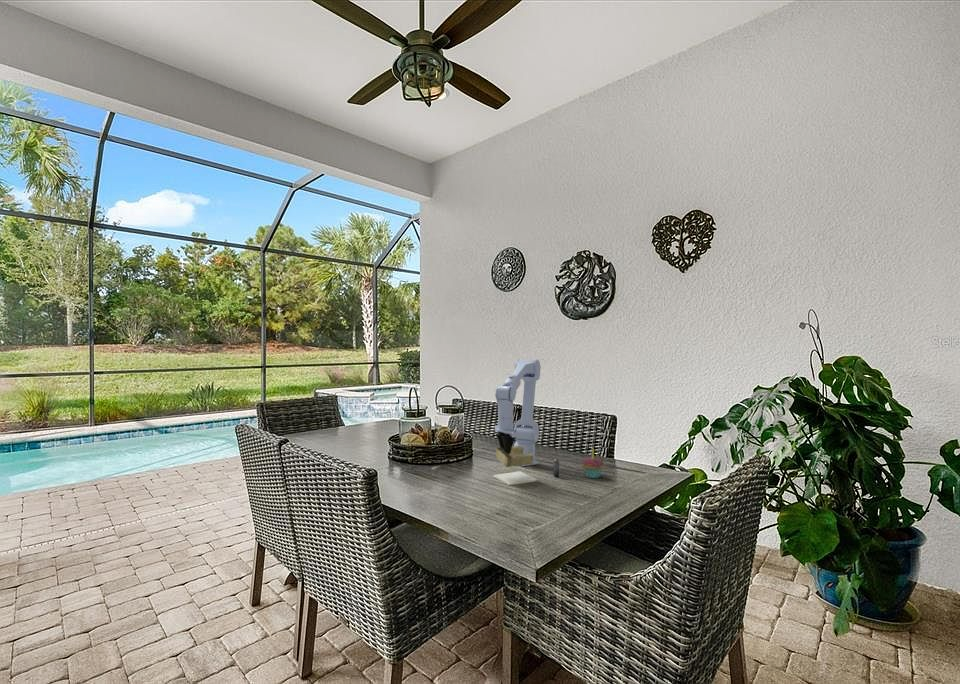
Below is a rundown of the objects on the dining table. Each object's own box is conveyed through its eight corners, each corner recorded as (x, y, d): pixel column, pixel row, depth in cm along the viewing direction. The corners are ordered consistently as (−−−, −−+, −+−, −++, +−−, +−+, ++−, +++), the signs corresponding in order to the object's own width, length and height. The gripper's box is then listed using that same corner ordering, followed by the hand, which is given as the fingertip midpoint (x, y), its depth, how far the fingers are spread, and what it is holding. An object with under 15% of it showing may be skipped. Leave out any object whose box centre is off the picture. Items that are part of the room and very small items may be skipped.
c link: (495, 456, 175) (496, 448, 174) (520, 454, 180) (521, 445, 179) (506, 467, 167) (507, 458, 166) (532, 463, 172) (533, 455, 171)
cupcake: (605, 480, 171) (605, 447, 171) (581, 479, 172) (581, 447, 172) (602, 473, 180) (602, 442, 180) (580, 472, 181) (580, 442, 181)
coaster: (493, 476, 175) (493, 475, 175) (519, 472, 181) (519, 471, 181) (508, 485, 165) (508, 484, 165) (536, 481, 170) (536, 479, 170)
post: (552, 475, 176) (552, 458, 176) (557, 475, 177) (557, 458, 177) (555, 477, 174) (555, 460, 174) (560, 476, 175) (560, 459, 175)
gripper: (487, 415, 180) (487, 449, 180) (505, 421, 167) (506, 458, 167) (503, 413, 183) (503, 447, 183) (522, 419, 170) (522, 456, 170)
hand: (505, 452), depth 175 cm, fingers closed on c link, 2 cm apart
